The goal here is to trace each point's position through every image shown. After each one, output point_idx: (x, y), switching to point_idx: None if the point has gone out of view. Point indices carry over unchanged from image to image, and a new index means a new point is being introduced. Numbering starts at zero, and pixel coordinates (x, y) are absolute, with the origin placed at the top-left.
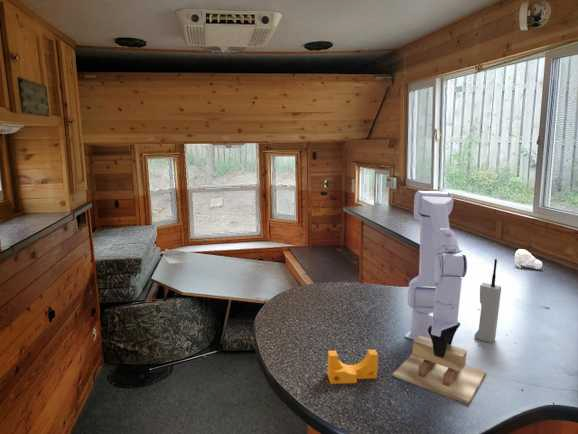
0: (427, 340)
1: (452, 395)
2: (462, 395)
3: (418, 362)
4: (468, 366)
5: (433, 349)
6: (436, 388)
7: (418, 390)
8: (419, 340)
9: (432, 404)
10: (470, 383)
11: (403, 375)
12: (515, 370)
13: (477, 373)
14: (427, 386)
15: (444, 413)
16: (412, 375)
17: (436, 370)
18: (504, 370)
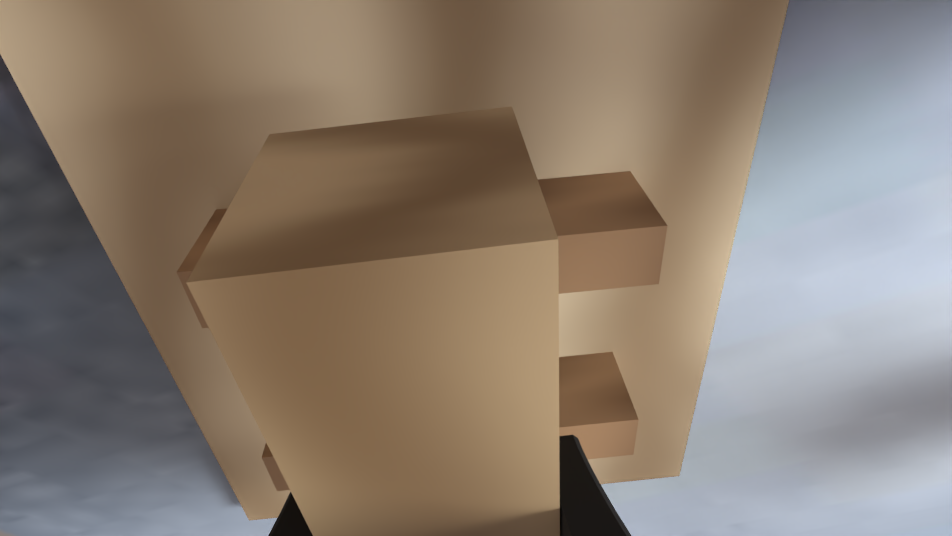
0: (454, 418)
1: (217, 459)
2: (274, 489)
3: (467, 93)
4: (687, 400)
5: (270, 534)
6: (186, 380)
7: (71, 274)
8: (322, 346)
9: (35, 398)
10: None
11: (60, 102)
12: (813, 518)
13: (619, 457)
14: (150, 325)
15: (38, 464)
16: (161, 171)
17: None
18: (784, 493)
